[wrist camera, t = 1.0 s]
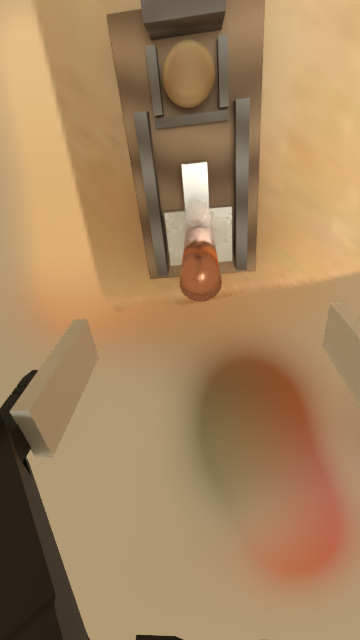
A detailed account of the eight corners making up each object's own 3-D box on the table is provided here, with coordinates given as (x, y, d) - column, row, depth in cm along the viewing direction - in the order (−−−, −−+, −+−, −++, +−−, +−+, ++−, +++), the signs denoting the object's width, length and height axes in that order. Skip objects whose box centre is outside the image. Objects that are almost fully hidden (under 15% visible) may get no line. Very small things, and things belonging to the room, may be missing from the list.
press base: (110, 19, 26) (90, -8, 21) (262, -5, 24) (277, -40, 20) (151, 275, 38) (145, 294, 33) (253, 267, 37) (262, 286, 32)
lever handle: (159, 165, 30) (137, 180, 19) (230, 157, 30) (250, 168, 18) (171, 262, 36) (159, 319, 24) (231, 257, 35) (247, 313, 24)
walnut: (161, 51, 26) (155, 36, 22) (212, 43, 25) (215, 27, 22) (167, 112, 28) (163, 108, 24) (214, 106, 28) (217, 101, 24)
